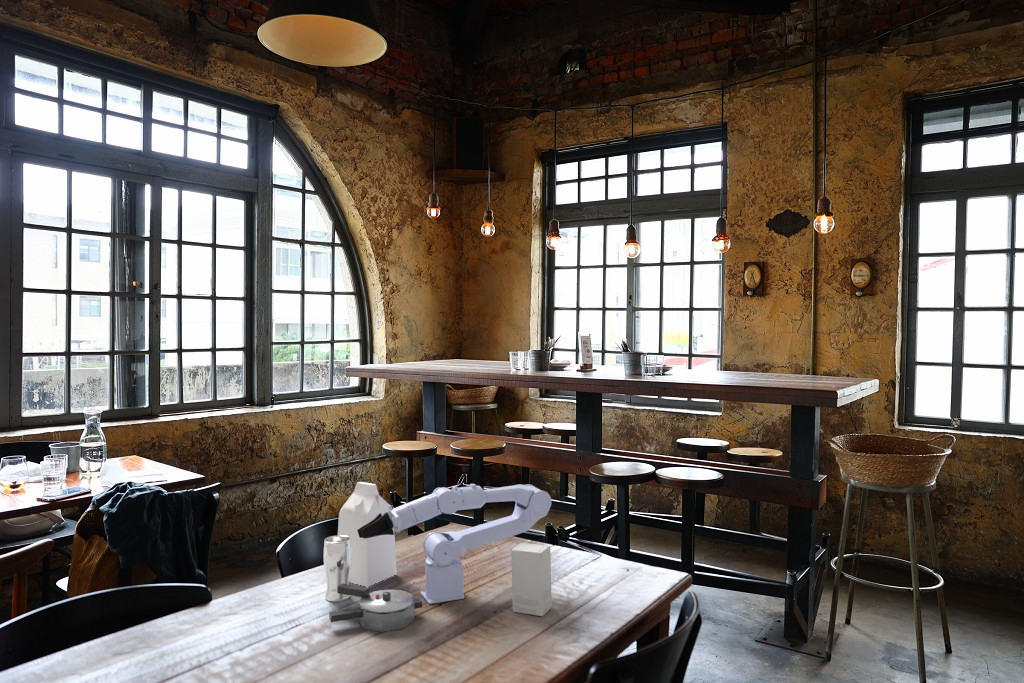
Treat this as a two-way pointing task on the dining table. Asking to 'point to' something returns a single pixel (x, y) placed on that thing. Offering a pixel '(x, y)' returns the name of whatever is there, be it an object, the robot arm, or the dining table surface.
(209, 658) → the dining table surface
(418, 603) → the pot
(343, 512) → the milk
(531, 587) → the skincare box
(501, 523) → the robot arm
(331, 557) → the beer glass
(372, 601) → the lid
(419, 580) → the dining table surface
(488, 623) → the dining table surface
